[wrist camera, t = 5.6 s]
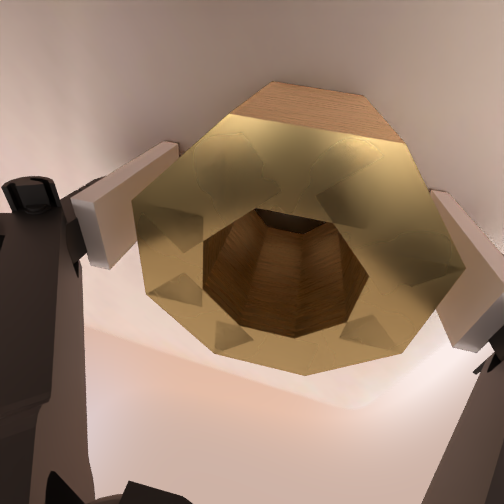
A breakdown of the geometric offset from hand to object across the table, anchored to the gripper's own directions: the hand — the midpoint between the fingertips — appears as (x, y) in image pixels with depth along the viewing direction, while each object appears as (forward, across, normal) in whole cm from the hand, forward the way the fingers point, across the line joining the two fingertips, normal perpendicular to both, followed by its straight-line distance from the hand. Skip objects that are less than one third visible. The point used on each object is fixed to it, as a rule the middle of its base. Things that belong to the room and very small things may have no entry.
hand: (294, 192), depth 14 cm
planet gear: (0, 0, 0) cm, 0 cm away
